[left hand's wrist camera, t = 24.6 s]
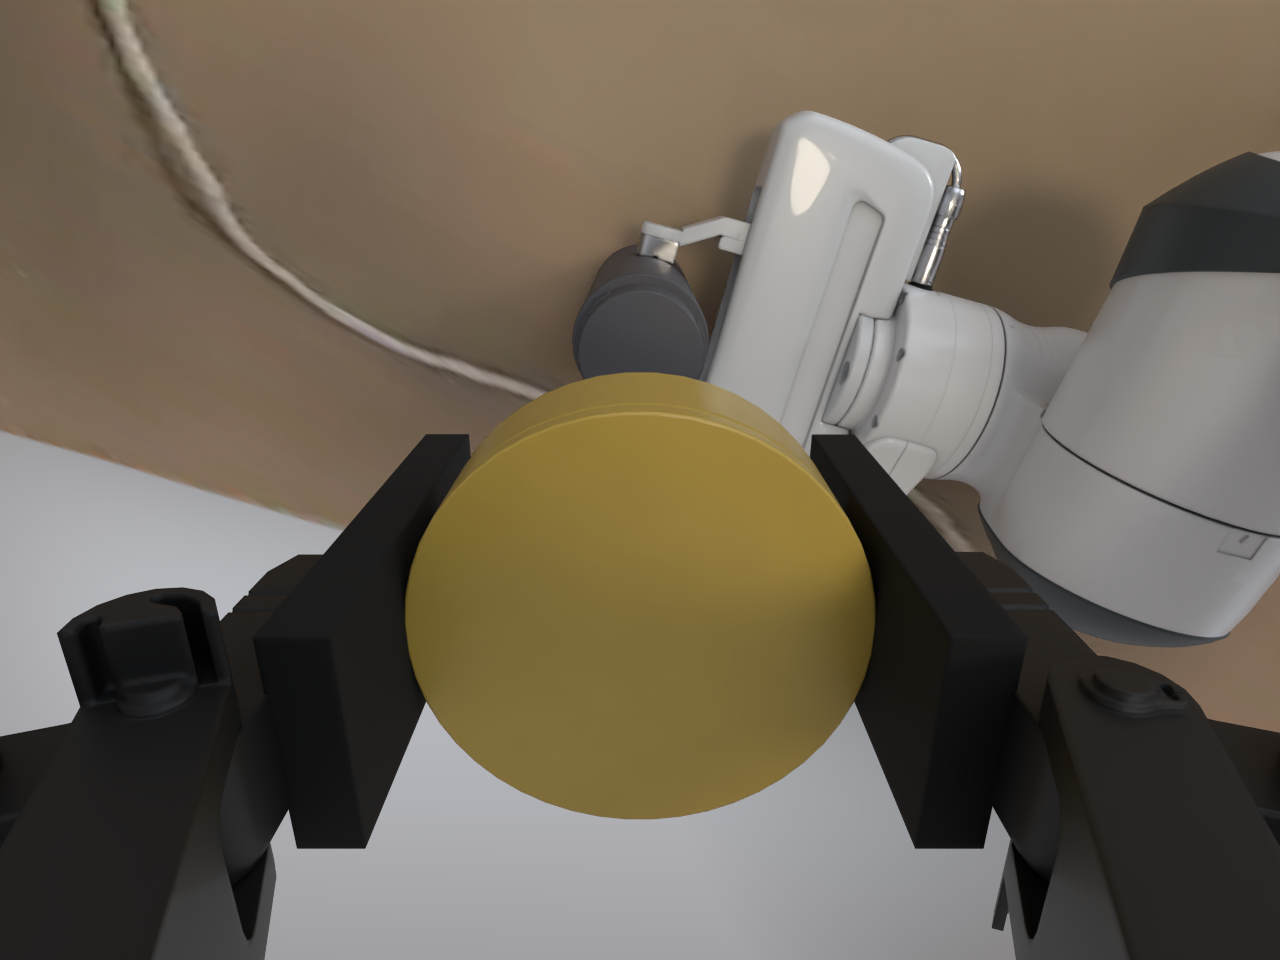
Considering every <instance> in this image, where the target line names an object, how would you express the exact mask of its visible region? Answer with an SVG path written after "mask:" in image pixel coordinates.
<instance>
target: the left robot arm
mask: <svg viewBox="0 0 1280 960" xmlns="http://www.w3.org/2000/svg"><path fill="white" fill-rule="evenodd" d="M470 458H471V455H470V443H469V434H426V435H425V436H424V438H423V439H422V440H421V441H420V442H419V443H418V445H417V446H416V447H415V448H414V449H413V450H412V452H411V453H410V454H409V455H408V456H407V457H406V459H405V460H404V461H403V462H402V463H401V464H400V466H399V467H398V468H397V469H396V470H395V471H394V473H393V474H392V475H391V476H390V477H389V478H388V480H387V481H386V482H385V483H384V484H383V485H382V487H381V488H380V489H379V490H378V491H377V492H376V494H375V495H374V496H373V497H372V498H371V499H370V501H369V502H368V503H367V504H366V505H365V507H364V508H363V509H362V510H361V511H360V512H359V514H358V515H357V516H356V517H355V518H354V519H353V521H352V522H351V523H350V524H349V525H348V526H347V528H346V529H345V530H344V531H343V532H342V533H341V535H340V536H339V537H338V538H337V539H336V541H335V542H334V543H333V544H332V545H331V546H330V547H329V549H328V550H327V551H326V552H325V553H324V554H323V555H297V556H295V557H293V558H292V559H290V560H288V561H286V562H284V563H283V564H281V565H279V566H277V567H275V568H274V569H272V570H270V571H268V572H267V573H266V574H265V575H264V576H263V577H262V578H261V579H260V580H259V581H258V582H257V583H256V585H254V587H253V588H252V589H251V590H250V591H249V595H248V596H244V597H243V598H242V599H241V600H240V601H239V602H238V603H237V604H236V605H235V606H234V607H233V611H232V613H228V614H227V615H226V616H225V617H224V618H223V619H222V620H221V621H220V620H219V616H218V611H217V607H216V603H215V599H214V598H213V597H211V596H210V595H208V594H207V593H205V592H204V591H201V590H195V589H189V588H164V589H153V590H148V591H144V592H139V593H134V594H129V595H125V596H122V597H119V598H117V599H114V600H111V601H108V602H105V603H102V604H99V605H97V606H95V607H93V608H91V609H90V610H88V611H86V612H84V613H82V614H80V615H78V616H77V617H75V618H73V619H72V620H71V621H70V622H69V623H67V624H66V625H65V626H64V627H63V628H62V629H61V630H60V631H59V632H58V633H57V635H58V638H59V641H60V644H61V647H62V651H63V654H64V657H65V660H66V663H67V666H68V670H69V673H70V676H71V679H72V682H73V685H74V688H75V691H76V695H77V698H78V701H79V704H80V708H79V710H78V712H77V714H76V716H75V718H74V719H73V721H72V723H68V724H64V725H58V726H54V727H48V728H43V729H38V730H32V731H27V732H22V733H17V734H12V735H6V736H1V737H0V960H264V958H265V951H266V944H267V937H268V930H269V923H270V917H271V910H272V903H273V896H274V889H275V882H276V870H275V863H274V857H273V853H272V849H271V844H270V841H271V839H272V838H273V836H274V834H275V832H276V831H277V829H278V827H279V825H280V823H281V822H282V820H283V818H284V816H285V815H286V813H287V811H288V809H289V813H290V818H291V822H292V827H293V832H294V836H295V841H296V846H297V848H298V849H346V848H347V849H355V848H356V849H365V848H366V846H367V843H368V841H369V838H370V836H371V833H372V831H373V829H374V826H375V824H376V821H377V819H378V816H379V814H380V812H381V809H382V807H383V804H384V802H385V800H386V797H387V795H388V792H389V790H390V787H391V785H392V783H393V780H394V778H395V775H396V773H397V771H398V768H399V766H400V763H401V761H402V758H403V756H404V754H405V751H406V749H407V746H408V744H409V742H410V739H411V737H412V734H413V732H414V729H415V727H416V725H417V722H418V720H419V717H420V715H421V713H422V710H423V708H424V705H425V703H426V700H425V698H424V695H423V693H422V691H421V689H420V686H419V684H418V682H417V680H416V677H415V674H414V671H413V667H412V664H411V660H410V656H409V650H408V642H407V634H406V626H405V594H406V589H407V583H408V578H409V572H410V568H411V565H412V562H413V559H414V556H415V553H416V551H417V548H418V545H419V542H420V540H421V538H422V537H423V535H424V533H425V531H426V529H427V527H428V525H429V523H430V521H431V519H432V518H433V516H434V514H435V513H436V511H437V510H438V508H439V507H440V505H441V503H442V502H443V500H444V498H445V497H446V495H447V494H448V492H449V490H450V489H451V487H452V486H453V484H454V482H455V481H456V479H457V478H458V476H459V474H460V473H461V471H462V470H463V468H464V466H465V465H466V463H467V462H468V460H469V459H470ZM810 459H811V460H812V461H813V463H814V464H815V466H816V467H817V469H818V471H819V472H820V474H821V475H822V477H823V479H824V480H825V482H826V483H827V485H828V487H829V488H830V490H831V491H832V493H833V495H834V496H835V498H836V500H837V501H838V503H839V504H840V506H841V508H842V509H843V511H844V512H845V514H846V516H847V517H848V519H849V521H850V523H851V525H852V527H853V529H854V530H855V532H856V534H857V536H858V538H859V540H860V542H861V544H862V547H863V550H864V553H865V556H866V559H867V561H868V564H869V567H870V570H871V576H872V581H873V587H874V593H875V606H876V622H875V631H874V639H873V646H872V654H871V658H870V661H869V665H868V668H867V672H866V675H865V678H864V680H863V683H862V685H861V687H860V689H859V692H858V694H857V696H856V698H855V701H854V702H855V704H856V707H857V709H858V711H859V714H860V716H861V719H862V721H863V723H864V726H865V728H866V731H867V733H868V735H869V738H870V740H871V743H872V745H873V748H874V750H875V752H876V755H877V757H878V760H879V762H880V765H881V767H882V769H883V772H884V774H885V777H886V779H887V781H888V784H889V786H890V789H891V791H892V794H893V796H894V798H895V801H896V803H897V806H898V808H899V810H900V813H901V815H902V818H903V820H904V823H905V825H906V827H907V830H908V832H909V835H910V837H911V839H912V842H913V844H914V847H915V848H916V849H983V848H984V844H985V839H986V834H987V830H988V825H989V820H990V815H991V811H992V806H993V808H994V810H995V811H996V813H997V815H998V817H999V818H1000V820H1001V822H1002V824H1003V825H1004V827H1005V829H1006V831H1007V832H1008V834H1009V836H1010V838H1011V840H1010V844H1009V848H1008V853H1007V857H1006V862H1005V866H1004V871H1003V875H1002V879H1001V883H1000V888H999V892H998V897H997V901H996V906H995V910H994V916H993V924H992V928H993V929H997V930H1001V931H1003V929H1004V925H1005V921H1006V916H1007V913H1009V915H1010V921H1011V928H1012V935H1013V942H1014V949H1015V956H1016V960H1280V733H1278V732H1273V731H1267V730H1262V729H1257V728H1252V727H1246V726H1241V725H1236V724H1231V723H1225V722H1220V721H1215V720H1211V719H1207V718H1206V716H1205V714H1204V712H1203V711H1202V709H1201V707H1200V706H1199V704H1198V703H1197V702H1196V701H1195V700H1194V699H1193V698H1192V697H1191V695H1190V694H1189V693H1188V692H1187V691H1186V690H1185V689H1184V688H1182V687H1180V686H1179V685H1177V684H1176V683H1174V682H1173V681H1171V680H1170V679H1168V678H1167V677H1165V676H1164V675H1162V674H1159V673H1157V672H1155V671H1152V670H1150V669H1147V668H1145V667H1143V666H1140V665H1138V664H1135V663H1132V662H1128V661H1123V660H1119V659H1115V658H1111V657H1107V656H1097V655H1096V654H1095V653H1094V652H1093V651H1092V650H1091V649H1090V648H1089V647H1088V645H1087V644H1086V643H1085V642H1084V641H1083V640H1082V639H1081V638H1080V637H1079V636H1078V635H1077V634H1076V633H1075V632H1074V631H1073V630H1072V629H1071V628H1070V627H1069V626H1068V625H1067V624H1066V623H1065V622H1064V621H1063V620H1062V619H1061V618H1060V617H1059V616H1058V615H1057V614H1056V613H1055V611H1054V610H1049V608H1048V607H1049V605H1048V604H1047V603H1046V602H1045V601H1044V600H1043V599H1042V598H1041V597H1040V596H1039V595H1038V594H1037V593H1033V591H1032V588H1031V587H1030V586H1029V585H1028V584H1027V583H1026V582H1025V581H1024V580H1023V578H1022V577H1021V576H1020V575H1019V574H1018V573H1017V572H1016V571H1015V570H1014V569H1012V568H1011V567H1009V566H1007V565H1005V564H1003V563H1001V562H1000V561H998V560H996V559H994V558H992V557H991V556H989V555H987V554H985V553H983V552H955V551H954V550H953V549H952V548H951V547H950V546H949V544H948V543H947V542H946V541H945V540H944V539H943V537H942V536H941V535H940V534H939V533H938V532H937V530H936V529H935V528H934V527H933V526H932V525H931V523H930V522H929V521H928V520H927V519H926V518H925V516H924V515H923V514H922V513H921V512H920V511H919V509H918V508H917V507H916V506H915V505H914V504H913V502H912V501H911V500H910V499H909V498H908V497H907V495H906V494H905V493H904V492H903V491H902V490H901V488H900V487H899V486H898V485H897V484H896V483H895V481H894V480H893V479H892V478H891V477H890V476H889V474H888V473H887V472H886V471H885V470H884V469H883V467H882V466H881V465H880V464H879V463H878V461H877V460H876V459H875V458H874V457H873V456H872V454H871V453H870V452H869V451H868V450H867V449H866V447H865V446H864V445H863V444H862V443H861V442H860V440H859V439H858V438H857V437H856V436H855V435H854V434H812V438H811V449H810Z"/></svg>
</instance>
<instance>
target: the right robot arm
mask: <svg viewBox="0 0 1280 960" xmlns="http://www.w3.org/2000/svg"><path fill="white" fill-rule="evenodd" d="M951 172H952V184H951V186H950V185H947V182H948V179H949V177H950V174H951ZM961 182H962V172H961V167H960V164H959V161H958V159H957V157H956V155H955V154H954V153H953V152H952V151H951V150H950V149H949V148H948V147H946V146H944V145H943V144H940V143H937V142H934V141H930V140H927V139H923V138H920V137H917V136H912V135H902V136H897V137H894V138H892V139H889V140H888V141H885V140H883V139H881V138H879V137H877V136H875V135H873V134H871V133H868V132H866V131H864V130H862V129H860V128H857V127H855V126H853V125H850V124H848V123H845V122H843V121H840V120H837V119H835V118H832V117H829V116H826V115H823V114H820V113H817V112H813V111H799V112H796V113H794V114H791V115H790V116H788V117H786V118H785V119H783V120H782V121H780V122H779V123H777V124H776V125H775V126H774V127H773V128H772V130H771V132H770V135H769V139H768V142H767V145H766V149H765V152H764V156H763V159H762V163H761V166H760V169H759V173H758V176H757V180H756V183H755V187H754V190H753V194H752V197H751V200H750V204H749V207H748V211H747V214H746V218H745V221H744V222H743V221H740V220H736V219H732V218H728V217H725V216H718V217H714V218H711V219H708V220H704V221H701V222H697V223H694V224H690V225H687V226H684V227H681V230H679V229H676V228H672V227H668V226H665V225H661V224H657V223H654V222H649V221H643V226H642V230H641V233H640V238H639V242H638V246H637V251H636V254H639V255H642V256H645V257H653V256H656V257H657V258H658V259H659V260H662V261H664V262H668V263H672V264H673V263H674V260H675V256H676V253H677V249H678V246H679V247H680V246H683V245H687V244H691V243H694V242H698V241H701V240H705V239H708V238H712V237H716V238H715V242H714V243H715V245H716V246H717V247H718V248H719V249H722V250H725V251H728V252H732V253H735V255H734V259H733V262H732V266H731V269H730V273H729V276H728V279H727V283H726V286H725V290H724V293H723V297H722V300H721V304H720V307H719V310H718V314H717V317H716V321H715V324H714V328H713V331H712V335H711V338H710V341H709V348H708V355H707V359H706V363H705V365H704V370H703V372H702V374H701V376H700V378H699V381H703V382H707V383H710V384H713V385H715V386H718V387H720V388H723V389H725V390H727V391H730V392H732V393H735V394H737V395H739V396H740V397H742V398H744V399H745V400H747V401H749V402H751V403H752V404H754V405H756V406H758V407H759V408H761V409H762V410H763V411H765V412H766V413H767V414H768V415H770V416H771V417H772V418H774V419H775V420H776V421H777V422H779V423H780V424H781V425H782V426H783V427H784V428H785V429H786V430H787V431H788V432H789V433H790V434H791V435H792V436H793V437H794V438H795V439H796V440H797V441H798V442H799V443H800V445H801V446H802V448H803V449H804V450H805V452H806V453H807V454H808V456H809V457H810V449H811V438H812V434H854V435H855V436H856V437H857V438H858V439H859V440H860V442H861V443H862V444H863V445H864V446H865V447H866V449H867V450H868V451H869V452H870V453H871V454H872V456H873V457H874V458H875V459H876V460H877V461H878V463H879V464H880V465H881V466H882V467H883V469H884V470H885V471H886V472H887V473H888V474H889V476H890V477H891V478H892V479H893V480H894V481H895V483H896V484H897V485H898V486H899V487H900V488H901V490H902V491H903V492H904V493H905V494H906V495H908V494H909V493H910V492H911V490H912V489H913V488H914V487H915V486H916V485H917V484H918V483H919V482H920V481H921V480H922V479H923V478H926V479H934V480H956V481H960V482H964V483H967V484H969V485H970V486H972V487H973V488H975V489H976V490H977V491H978V492H979V495H980V503H979V504H978V511H979V514H980V517H981V521H982V524H983V526H984V529H985V531H986V534H987V536H988V539H989V541H990V543H991V545H992V548H993V550H994V552H995V555H996V557H997V560H998V561H1000V562H1001V563H1003V564H1005V565H1007V566H1009V567H1011V568H1012V569H1014V570H1015V571H1016V572H1017V573H1018V574H1019V575H1020V576H1021V577H1022V578H1023V580H1024V581H1025V582H1026V583H1027V584H1028V585H1029V586H1030V587H1031V588H1032V591H1033V593H1037V594H1038V595H1039V596H1040V597H1041V598H1042V599H1043V600H1044V601H1045V602H1046V603H1047V604H1048V605H1049V607H1048V608H1049V610H1054V611H1055V613H1056V614H1057V615H1058V616H1059V617H1060V618H1061V619H1062V620H1063V621H1064V622H1065V623H1066V624H1067V625H1068V626H1069V627H1070V628H1072V629H1074V630H1077V631H1080V632H1082V633H1085V634H1088V635H1091V636H1094V637H1098V638H1101V639H1105V640H1108V641H1112V642H1117V643H1122V644H1129V645H1139V646H1149V647H1186V646H1195V645H1201V644H1206V643H1211V642H1214V641H1217V640H1221V639H1224V638H1226V637H1228V635H1229V634H1230V631H1231V630H1232V629H1233V628H1234V627H1235V626H1236V625H1237V624H1238V623H1239V622H1240V621H1241V620H1242V619H1243V618H1244V617H1245V616H1246V615H1247V614H1248V613H1249V611H1250V610H1251V609H1252V608H1253V607H1254V606H1255V604H1256V603H1257V602H1258V601H1259V599H1260V598H1261V597H1262V596H1263V594H1264V593H1265V592H1266V591H1267V589H1268V588H1269V587H1270V586H1271V585H1272V583H1273V582H1274V581H1275V580H1276V578H1277V577H1278V576H1279V575H1280V151H1276V152H1267V153H1261V154H1255V153H1252V152H1246V153H1244V154H1242V155H1239V156H1237V157H1234V158H1232V159H1230V160H1227V161H1225V162H1223V163H1221V164H1219V165H1216V166H1214V167H1212V168H1210V169H1208V170H1206V171H1204V172H1202V173H1200V174H1198V175H1196V176H1194V177H1192V178H1191V179H1189V180H1187V181H1185V182H1184V183H1182V184H1180V185H1178V186H1177V187H1175V188H1173V189H1171V190H1170V191H1168V192H1166V193H1165V194H1163V195H1162V196H1160V197H1158V198H1157V199H1155V200H1154V201H1152V202H1151V203H1149V204H1147V205H1146V206H1144V207H1143V209H1142V212H1141V214H1140V216H1139V219H1138V221H1137V223H1136V225H1135V228H1134V230H1133V232H1132V235H1131V237H1130V239H1129V242H1128V244H1127V246H1126V248H1125V251H1124V253H1123V255H1122V258H1121V260H1120V262H1119V264H1118V267H1117V269H1116V271H1115V274H1114V276H1113V278H1112V280H1111V283H1110V288H1111V291H1110V293H1109V295H1108V297H1107V298H1106V300H1105V302H1104V304H1103V306H1102V308H1101V310H1100V311H1099V313H1098V315H1097V317H1096V319H1095V321H1094V322H1093V324H1092V326H1091V328H1090V330H1089V332H1084V331H1080V330H1077V329H1073V328H1068V327H1035V326H1029V325H1026V324H1023V323H1021V322H1019V321H1017V320H1015V319H1014V318H1012V317H1011V316H1009V315H1008V314H1006V313H1005V312H1003V311H1001V310H999V309H997V308H995V307H992V306H989V305H985V304H982V303H978V302H974V301H971V300H967V299H963V298H960V297H956V296H952V295H949V294H945V293H941V292H938V291H934V290H933V289H931V288H932V285H933V282H934V280H935V278H936V274H937V272H938V269H939V267H940V264H941V261H942V259H943V256H944V253H945V248H946V245H947V243H946V242H947V241H948V238H949V237H948V236H949V235H950V232H951V231H950V230H951V229H952V227H953V224H954V221H955V220H957V218H958V217H959V214H960V212H961V209H962V207H963V203H964V200H965V194H966V190H965V189H962V188H960V187H961ZM905 280H906V281H909V283H908V284H907V283H905ZM910 281H911V283H910Z"/></svg>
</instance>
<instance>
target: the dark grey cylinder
mask: <svg viewBox="0 0 1280 960" xmlns="http://www.w3.org/2000/svg"><path fill="white" fill-rule="evenodd" d="M637 246H638V245H632V246H628V247H625V248H622V249H620V250H618V251H617V252H615V253H614V254H612V255H611V256H610V257H609V258H608V259H607V260H606V261H605V262H604V264H603V265H602V267H601V268H600V270H599V273H598V275H597V277H596V279H595V281H594V283H593V285H592V287H591V289H590V291H589V293H588V295H587V297H586V299H585V301H584V303H583V306H582V308H581V310H580V312H579V314H578V316H577V319H576V322H575V325H574V331H573V342H572V343H573V353H574V357H575V361H576V364H577V367H578V369H579V371H580V373H581V375H582V377H583V378H584V380H585V379H589V378H592V377H596V376H602V375H610V374H618V373H626V372H653V373H663V374H670V375H678V376H684V377H688V378H692V379H695V380H699V378H700V376H701V374H702V372H703V370H704V365H705V363H706V359H707V355H708V348H709V334H708V328H707V324H706V321H705V317H704V315H703V313H702V311H701V309H700V307H699V304H698V302H697V300H696V298H695V296H694V294H693V292H692V290H691V288H690V286H689V284H688V282H687V280H686V278H685V276H684V274H683V272H682V270H681V268H680V267H679V265H678V264H677V262H676V261H675V260H674V263H673V264H672V263H668V262H664V261H662V260H659V259H658V258H657V257H656V256H653V257H645V256H642V255H639V254H636V251H637Z"/></svg>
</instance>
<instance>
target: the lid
mask: <svg viewBox="0 0 1280 960" xmlns="http://www.w3.org/2000/svg"><path fill="white" fill-rule="evenodd" d="M875 622H876V606H875V593H874V587H873V581H872V576H871V570H870V567H869V564H868V561H867V559H866V556H865V553H864V550H863V547H862V544H861V542H860V540H859V538H858V536H857V534H856V532H855V530H854V529H853V527H852V525H851V523H850V521H849V519H848V517H847V516H846V514H845V512H844V511H843V509H842V508H841V506H840V504H839V503H838V501H837V500H836V498H835V496H834V495H833V493H832V491H831V490H830V488H829V487H828V485H827V483H826V482H825V480H824V479H823V477H822V475H821V474H820V472H819V471H818V469H817V467H816V466H815V464H814V463H813V461H812V460H811V459H810V457H809V456H808V454H807V453H806V452H805V450H804V449H803V448H802V446H801V445H800V443H799V442H798V441H797V440H796V439H795V438H794V437H793V436H792V435H791V434H790V433H789V432H788V431H787V430H786V429H785V428H784V427H783V426H782V425H781V424H780V423H779V422H777V421H776V420H775V419H774V418H772V417H771V416H770V415H768V414H767V413H766V412H765V411H763V410H762V409H761V408H759V407H758V406H756V405H754V404H752V403H751V402H749V401H747V400H745V399H744V398H742V397H740V396H739V395H737V394H735V393H732V392H730V391H727V390H725V389H723V388H720V387H718V386H715V385H713V384H710V383H707V382H703V381H699V380H695V379H692V378H688V377H684V376H678V375H670V374H663V373H653V372H626V373H618V374H610V375H602V376H596V377H592V378H589V379H585V380H581V381H577V382H573V383H570V384H568V385H565V386H563V387H560V388H558V389H555V390H553V391H550V392H548V393H545V394H544V395H542V396H540V397H538V398H537V399H535V400H533V401H531V402H530V403H528V404H526V405H524V406H523V407H521V408H520V409H518V410H517V411H516V412H515V413H513V414H512V415H511V416H509V417H508V418H507V419H505V420H504V421H503V422H502V423H500V424H499V425H498V426H497V427H496V428H495V429H494V430H493V431H492V432H491V433H490V434H489V435H488V436H487V437H486V439H485V440H484V441H483V442H482V443H481V444H480V445H479V447H478V448H477V449H476V451H475V452H474V454H473V455H472V456H471V458H470V459H469V460H468V462H467V463H466V465H465V466H464V468H463V470H462V471H461V473H460V474H459V476H458V478H457V479H456V481H455V482H454V484H453V486H452V487H451V489H450V490H449V492H448V494H447V495H446V497H445V498H444V500H443V502H442V503H441V505H440V507H439V508H438V510H437V511H436V513H435V514H434V516H433V518H432V519H431V521H430V523H429V525H428V527H427V529H426V531H425V533H424V535H423V537H422V538H421V540H420V542H419V545H418V548H417V551H416V553H415V556H414V559H413V562H412V565H411V568H410V572H409V578H408V583H407V589H406V594H405V626H406V634H407V642H408V650H409V656H410V660H411V664H412V667H413V671H414V674H415V677H416V680H417V682H418V684H419V686H420V689H421V691H422V693H423V695H424V698H425V700H426V702H427V703H428V705H429V707H430V708H431V710H432V711H433V713H434V715H435V716H436V718H437V719H438V721H439V723H440V724H441V725H442V726H443V728H444V729H445V730H446V731H447V733H448V734H449V735H450V736H451V737H452V739H453V740H454V741H455V742H456V744H458V745H459V746H460V747H461V748H462V749H463V750H464V751H465V752H466V753H467V754H468V755H469V756H470V757H471V758H472V759H473V760H474V761H475V762H477V763H478V764H480V765H481V766H482V767H483V768H485V769H486V770H487V771H489V772H490V773H492V774H493V775H494V776H495V777H497V778H498V779H500V780H502V781H504V782H505V783H507V784H509V785H510V786H512V787H514V788H516V789H517V790H519V791H521V792H523V793H525V794H528V795H530V796H532V797H534V798H537V799H539V800H541V801H544V802H546V803H549V804H552V805H555V806H558V807H561V808H565V809H568V810H571V811H575V812H580V813H585V814H590V815H594V816H600V817H610V818H619V819H661V818H671V817H681V816H686V815H691V814H695V813H701V812H705V811H709V810H713V809H716V808H719V807H722V806H725V805H728V804H732V803H735V802H737V801H739V800H741V799H744V798H746V797H748V796H751V795H753V794H755V793H757V792H760V791H761V790H763V789H765V788H766V787H768V786H770V785H772V784H773V783H775V782H777V781H779V780H780V779H782V778H784V777H785V776H786V775H788V774H789V773H790V772H792V771H793V770H794V769H796V768H797V767H798V766H800V765H801V764H802V763H804V762H805V761H806V760H807V759H808V758H809V757H810V756H811V755H812V754H813V753H814V752H816V751H817V750H818V749H819V748H820V747H821V746H822V745H823V744H824V743H825V742H826V740H827V739H828V738H829V737H830V735H831V734H832V733H833V732H834V731H835V729H836V728H837V727H838V726H839V725H840V723H841V722H842V720H843V718H844V717H845V715H846V714H847V712H848V710H849V709H850V707H851V706H852V704H853V702H854V701H855V698H856V696H857V694H858V692H859V689H860V687H861V685H862V683H863V680H864V678H865V675H866V672H867V668H868V665H869V661H870V658H871V654H872V646H873V639H874V631H875Z"/></svg>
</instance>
